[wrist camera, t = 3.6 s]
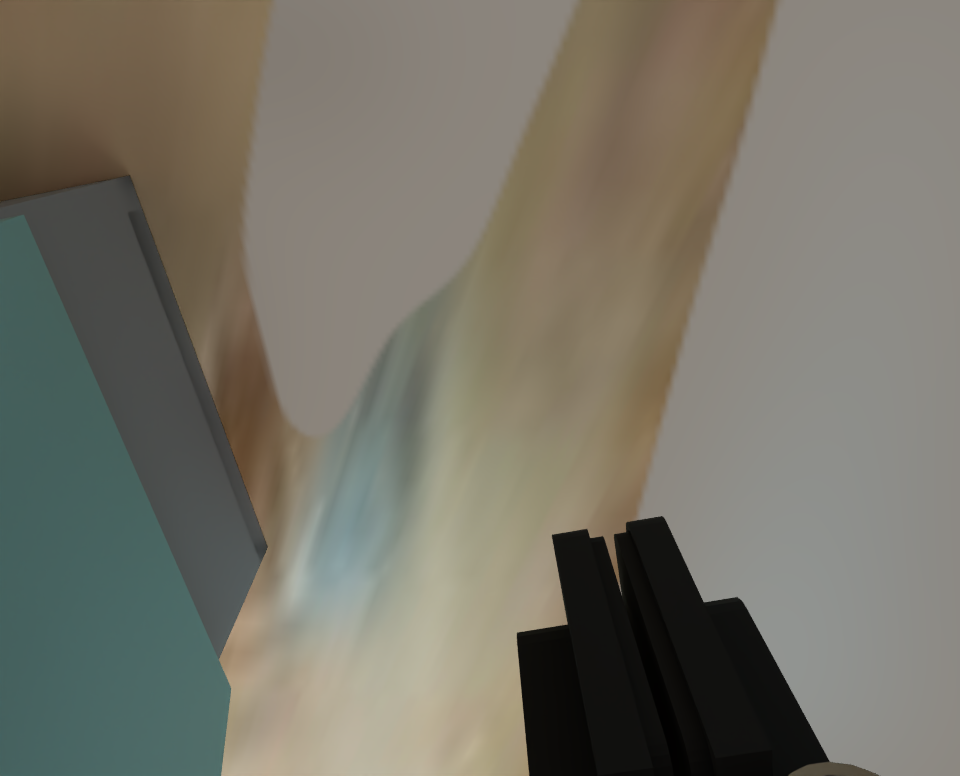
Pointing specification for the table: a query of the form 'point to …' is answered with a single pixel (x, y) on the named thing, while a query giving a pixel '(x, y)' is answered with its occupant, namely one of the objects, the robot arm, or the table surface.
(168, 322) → the box
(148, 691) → the flap
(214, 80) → the table surface
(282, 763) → the table surface
